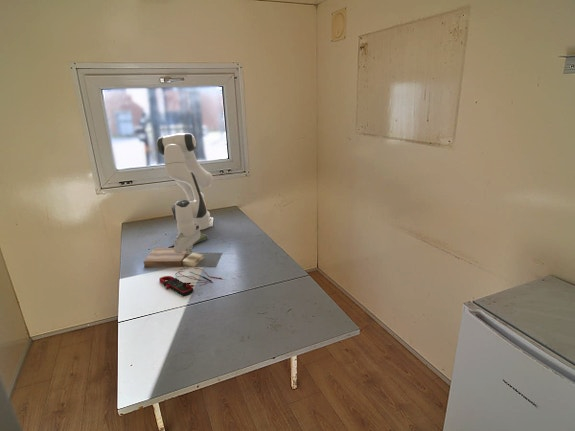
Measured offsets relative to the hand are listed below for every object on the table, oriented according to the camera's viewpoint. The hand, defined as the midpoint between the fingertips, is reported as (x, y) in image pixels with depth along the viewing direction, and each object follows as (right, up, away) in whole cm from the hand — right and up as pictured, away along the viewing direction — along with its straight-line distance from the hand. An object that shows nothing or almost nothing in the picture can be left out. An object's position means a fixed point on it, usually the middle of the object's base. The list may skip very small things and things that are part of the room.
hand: (189, 252), depth 190 cm
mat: (+7, -4, +1) cm, 8 cm away
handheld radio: (-9, +5, +21) cm, 23 cm away
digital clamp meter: (+6, -13, -19) cm, 23 cm away
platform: (-12, -4, +2) cm, 13 cm away
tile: (+3, -5, -1) cm, 5 cm away
